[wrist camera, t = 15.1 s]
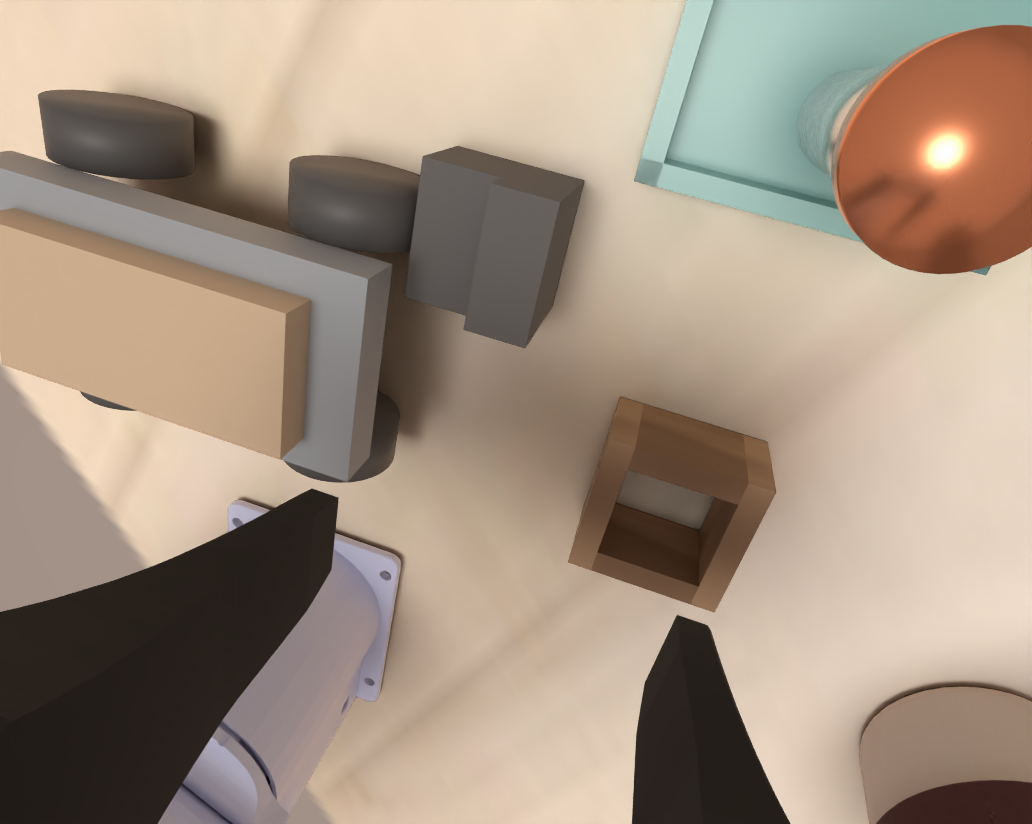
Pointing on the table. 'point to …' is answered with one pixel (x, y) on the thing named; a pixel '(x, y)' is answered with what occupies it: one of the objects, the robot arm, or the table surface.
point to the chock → (490, 240)
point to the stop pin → (932, 150)
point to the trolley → (203, 287)
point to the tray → (779, 93)
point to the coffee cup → (949, 759)
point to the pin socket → (660, 543)
